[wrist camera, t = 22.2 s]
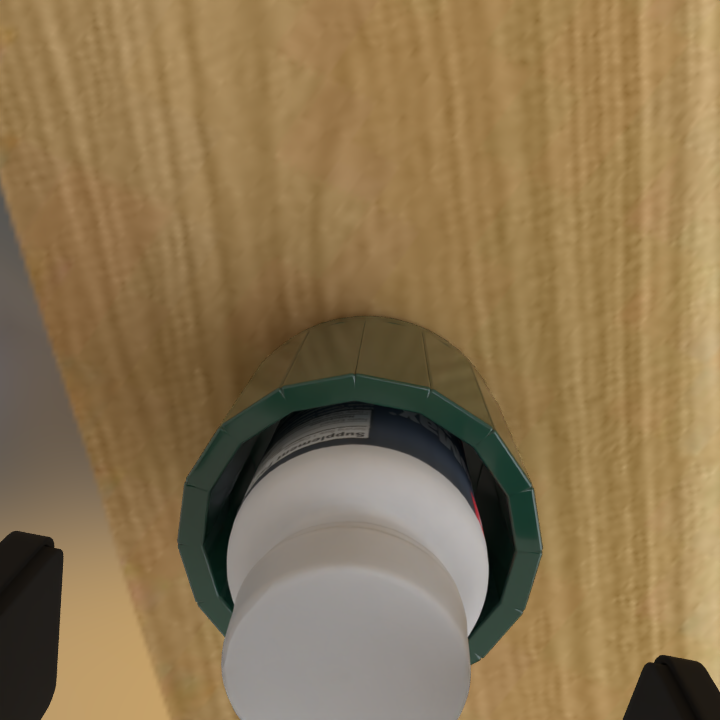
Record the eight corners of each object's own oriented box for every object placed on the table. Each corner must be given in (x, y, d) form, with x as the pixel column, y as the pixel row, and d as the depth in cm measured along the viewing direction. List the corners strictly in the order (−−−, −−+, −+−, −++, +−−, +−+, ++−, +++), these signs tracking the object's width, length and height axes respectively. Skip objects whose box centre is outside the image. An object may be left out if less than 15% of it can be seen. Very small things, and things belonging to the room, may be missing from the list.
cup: (221, 532, 21) (161, 659, 15) (256, 290, 18) (200, 342, 13) (466, 580, 21) (490, 723, 15) (531, 345, 18) (585, 418, 13)
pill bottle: (490, 490, 19) (566, 754, 11) (328, 553, 20) (278, 844, 11) (414, 328, 18) (431, 480, 9) (245, 404, 19) (119, 606, 10)
